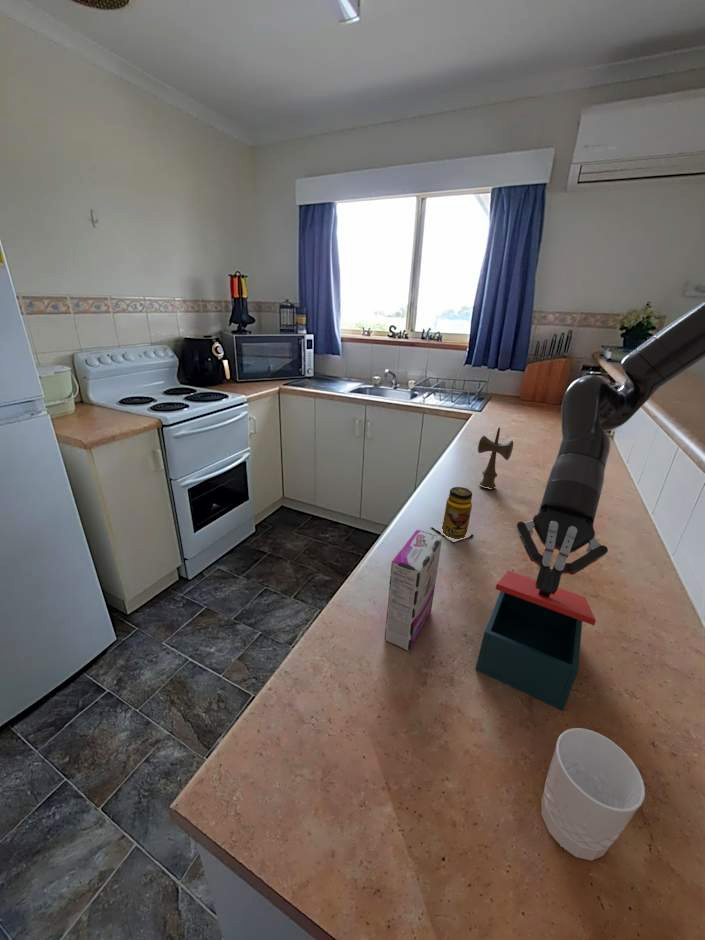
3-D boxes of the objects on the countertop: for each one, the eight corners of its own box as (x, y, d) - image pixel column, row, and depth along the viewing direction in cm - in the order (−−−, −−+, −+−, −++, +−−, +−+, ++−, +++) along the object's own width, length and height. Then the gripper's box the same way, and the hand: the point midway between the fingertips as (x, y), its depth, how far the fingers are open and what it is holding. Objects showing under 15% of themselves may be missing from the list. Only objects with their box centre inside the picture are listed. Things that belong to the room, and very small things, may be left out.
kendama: (500, 494, 122) (514, 432, 115) (469, 486, 127) (480, 426, 119) (504, 488, 127) (518, 428, 119) (474, 480, 132) (485, 422, 124)
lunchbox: (563, 711, 57) (578, 671, 54) (475, 669, 62) (484, 631, 59) (571, 636, 70) (583, 601, 67) (498, 607, 76) (506, 574, 73)
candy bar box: (406, 601, 76) (416, 527, 69) (431, 612, 74) (444, 536, 67) (381, 640, 67) (390, 559, 60) (409, 653, 65) (421, 571, 58)
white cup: (571, 880, 40) (600, 822, 36) (519, 793, 47) (540, 737, 43) (631, 854, 42) (665, 797, 38) (573, 775, 49) (597, 720, 45)
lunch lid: (594, 625, 51) (596, 619, 51) (495, 588, 57) (496, 583, 57) (583, 601, 67) (585, 596, 67) (506, 574, 72) (507, 570, 72)
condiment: (453, 543, 95) (461, 499, 91) (429, 527, 102) (436, 485, 97) (474, 536, 99) (483, 493, 94) (450, 520, 106) (457, 480, 101)
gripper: (529, 468, 62) (497, 572, 57) (628, 491, 56) (601, 609, 51) (527, 487, 69) (497, 582, 64) (615, 509, 63) (591, 616, 58)
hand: (544, 594), depth 57 cm, fingers closed
